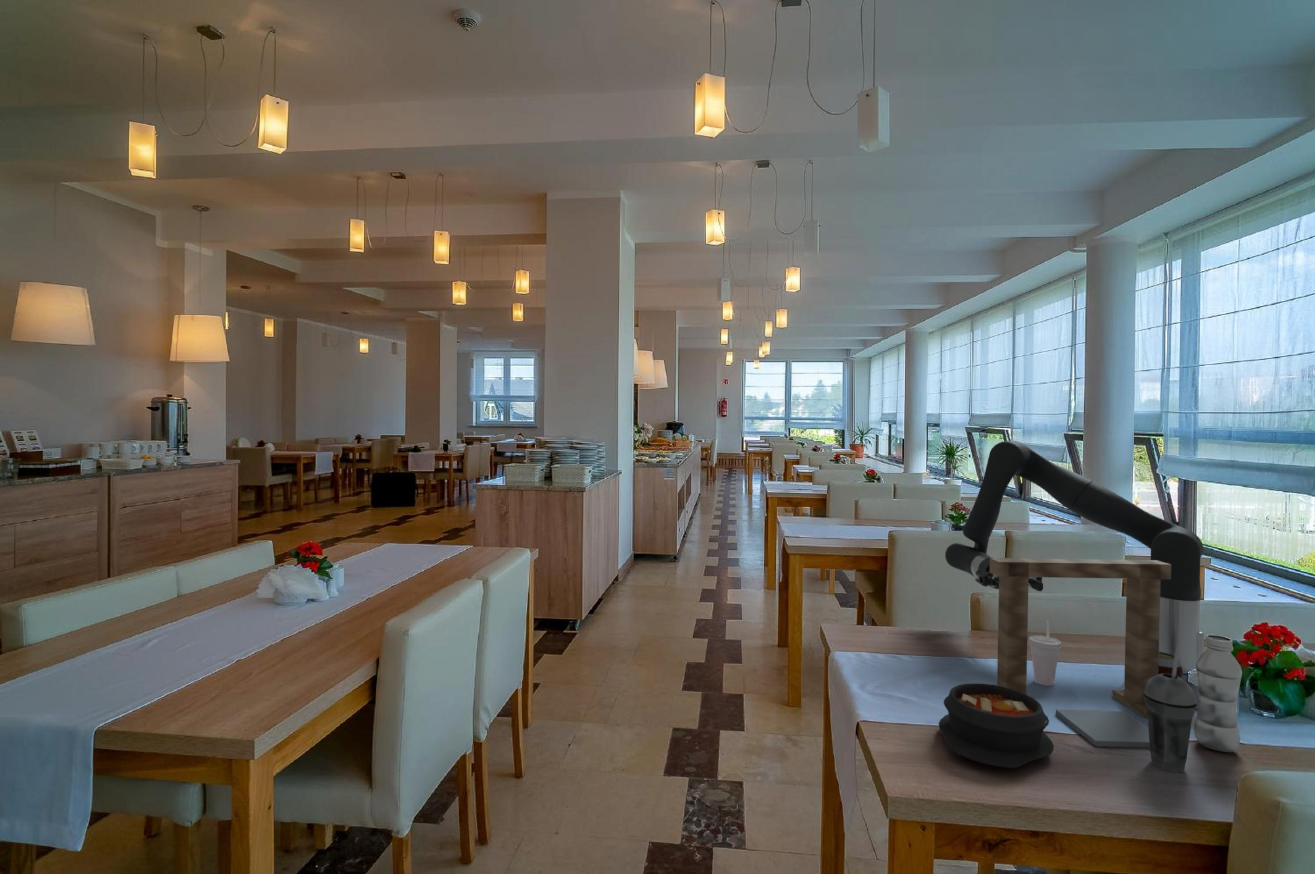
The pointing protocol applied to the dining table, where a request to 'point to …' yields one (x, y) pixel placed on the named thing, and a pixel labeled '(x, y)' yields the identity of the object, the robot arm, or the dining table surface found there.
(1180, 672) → the mate gourd
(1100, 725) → the mat
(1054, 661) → the smoothie
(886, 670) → the dining table surface
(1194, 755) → the dining table surface
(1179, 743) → the beverage cup
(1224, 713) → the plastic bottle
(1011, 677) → the archway
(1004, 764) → the casserole
